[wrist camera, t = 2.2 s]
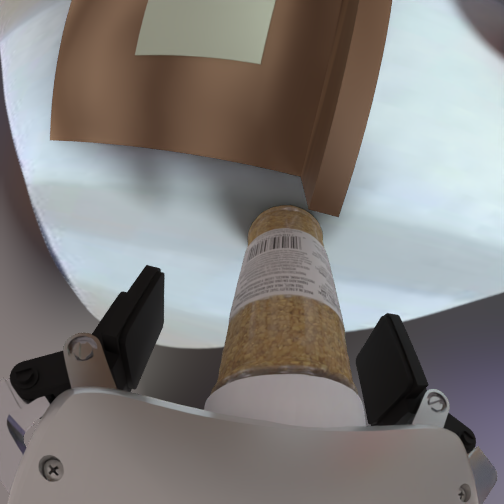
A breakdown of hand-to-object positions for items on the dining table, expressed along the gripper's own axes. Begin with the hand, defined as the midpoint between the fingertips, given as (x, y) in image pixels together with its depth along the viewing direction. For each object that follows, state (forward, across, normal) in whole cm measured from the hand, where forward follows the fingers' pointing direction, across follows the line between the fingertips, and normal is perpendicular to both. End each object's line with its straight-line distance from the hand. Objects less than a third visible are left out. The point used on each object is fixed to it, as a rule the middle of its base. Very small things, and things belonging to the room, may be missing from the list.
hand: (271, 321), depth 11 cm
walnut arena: (+7, +7, -14) cm, 17 cm away
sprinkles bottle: (+7, -1, -1) cm, 7 cm away
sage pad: (+6, +6, -14) cm, 16 cm away
